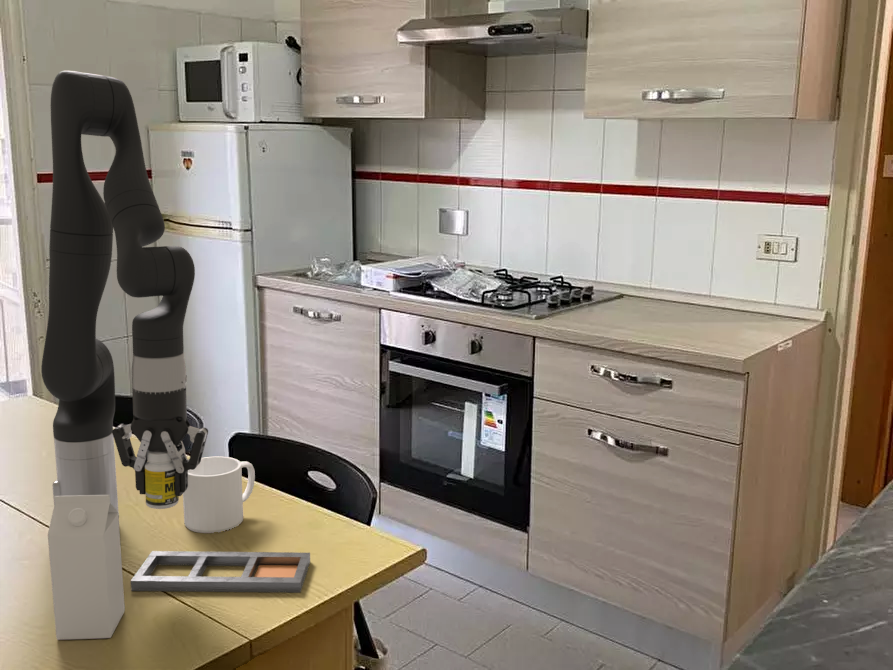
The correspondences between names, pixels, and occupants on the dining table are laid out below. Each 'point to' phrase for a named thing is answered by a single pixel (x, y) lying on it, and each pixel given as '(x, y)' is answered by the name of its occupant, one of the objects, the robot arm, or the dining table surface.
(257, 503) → the dining table surface
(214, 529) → the mug
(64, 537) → the milk carton
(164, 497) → the supplement bottle
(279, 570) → the marked hole pad
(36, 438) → the dining table surface
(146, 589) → the grey flat rectangular frame
